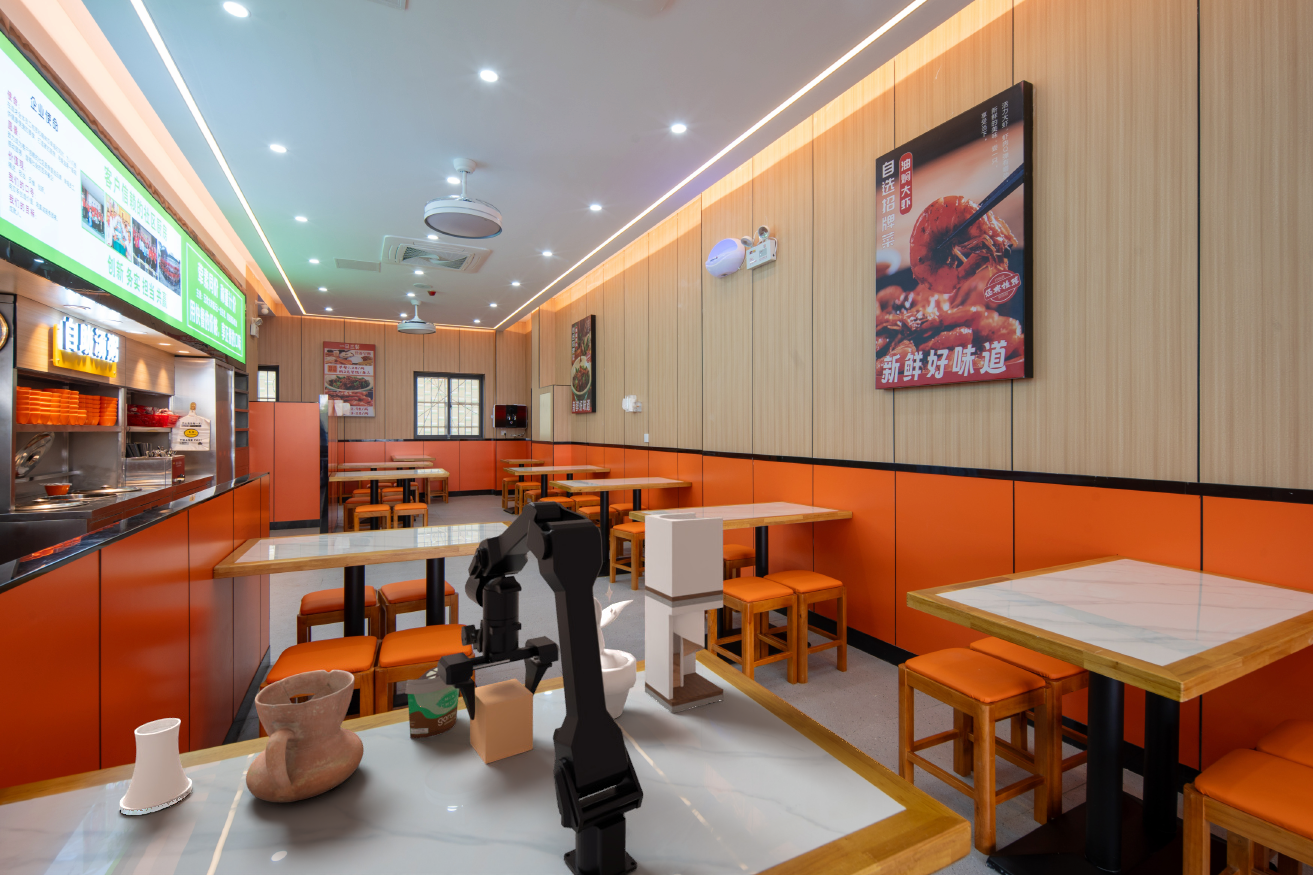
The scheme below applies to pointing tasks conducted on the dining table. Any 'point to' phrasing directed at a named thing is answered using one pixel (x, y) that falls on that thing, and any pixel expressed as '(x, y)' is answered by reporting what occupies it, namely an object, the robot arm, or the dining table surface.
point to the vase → (156, 767)
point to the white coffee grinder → (680, 605)
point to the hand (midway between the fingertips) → (500, 711)
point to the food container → (431, 705)
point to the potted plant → (614, 660)
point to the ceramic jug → (304, 737)
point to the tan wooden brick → (502, 720)
